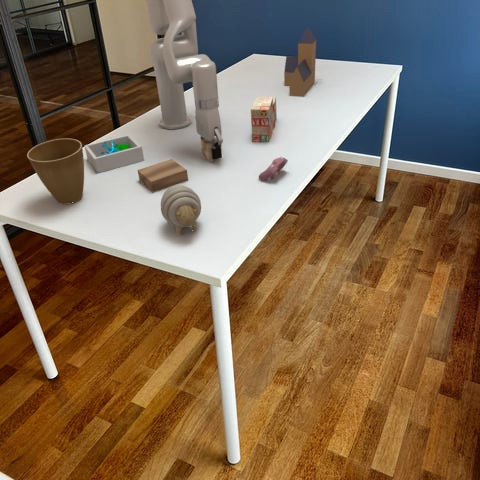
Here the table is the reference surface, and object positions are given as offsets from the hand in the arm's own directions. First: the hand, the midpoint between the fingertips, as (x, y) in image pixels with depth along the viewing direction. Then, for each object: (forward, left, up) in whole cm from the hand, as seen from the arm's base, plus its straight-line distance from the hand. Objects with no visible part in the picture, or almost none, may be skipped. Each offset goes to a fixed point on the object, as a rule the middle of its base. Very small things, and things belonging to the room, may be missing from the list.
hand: (211, 154), depth 162 cm
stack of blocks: (-9, +26, -1) cm, 28 cm away
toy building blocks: (-41, +62, -1) cm, 75 cm away
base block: (+6, -20, -2) cm, 21 cm away
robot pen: (-18, -28, -1) cm, 33 cm away
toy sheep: (+33, -25, -1) cm, 41 cm away
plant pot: (0, -48, -1) cm, 48 cm away
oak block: (0, 0, -1) cm, 1 cm away
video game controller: (+23, +10, -1) cm, 25 cm away
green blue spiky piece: (-20, -27, -1) cm, 34 cm away
